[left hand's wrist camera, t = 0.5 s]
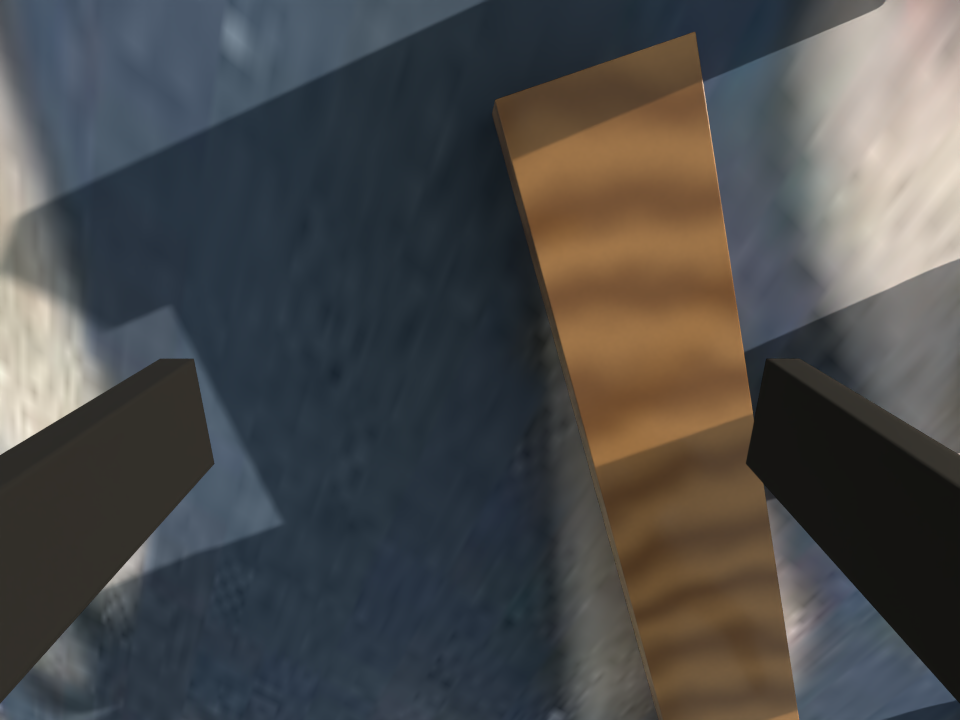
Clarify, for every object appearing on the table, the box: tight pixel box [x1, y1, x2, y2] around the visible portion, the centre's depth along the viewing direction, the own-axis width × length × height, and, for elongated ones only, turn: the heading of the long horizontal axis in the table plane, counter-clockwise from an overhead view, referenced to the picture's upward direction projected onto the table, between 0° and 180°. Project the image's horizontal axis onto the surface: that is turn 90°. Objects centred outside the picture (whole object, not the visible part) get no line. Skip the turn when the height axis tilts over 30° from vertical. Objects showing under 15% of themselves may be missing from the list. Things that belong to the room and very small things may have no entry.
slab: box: [492, 32, 799, 720], centre depth 37 cm, size 56×10×7 cm, turn 17°
